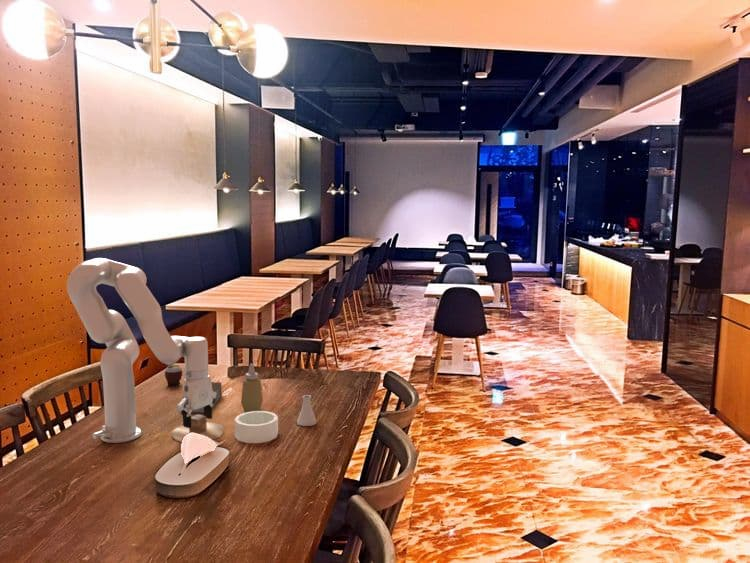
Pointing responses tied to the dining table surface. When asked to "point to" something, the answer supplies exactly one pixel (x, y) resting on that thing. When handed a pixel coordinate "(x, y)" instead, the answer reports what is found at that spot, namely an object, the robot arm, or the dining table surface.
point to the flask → (306, 413)
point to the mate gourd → (173, 375)
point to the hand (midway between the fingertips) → (197, 422)
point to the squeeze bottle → (251, 391)
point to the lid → (199, 428)
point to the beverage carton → (216, 388)
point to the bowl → (256, 427)
